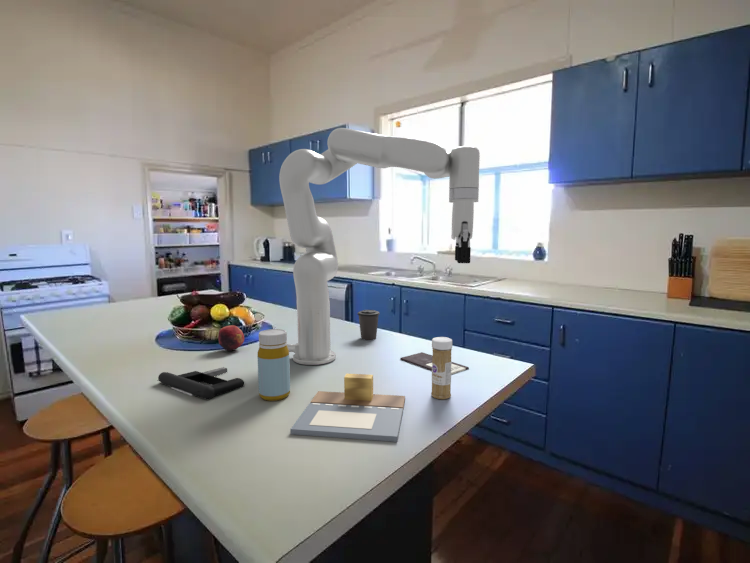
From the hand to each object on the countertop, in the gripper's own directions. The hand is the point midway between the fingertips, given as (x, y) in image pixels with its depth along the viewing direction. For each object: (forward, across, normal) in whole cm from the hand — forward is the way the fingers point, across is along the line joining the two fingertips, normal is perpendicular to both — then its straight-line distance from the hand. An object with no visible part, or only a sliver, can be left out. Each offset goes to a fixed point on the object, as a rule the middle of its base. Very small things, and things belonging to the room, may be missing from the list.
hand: (462, 261), depth 109 cm
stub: (+30, +26, -24) cm, 46 cm away
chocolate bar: (+30, -3, -7) cm, 31 cm away
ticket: (+30, +35, -24) cm, 52 cm away
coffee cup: (+30, -30, -30) cm, 51 cm away
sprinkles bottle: (+30, +20, -6) cm, 36 cm away
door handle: (+30, +18, -64) cm, 73 cm away
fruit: (+30, -10, -71) cm, 78 cm away
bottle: (+30, +24, -44) cm, 58 cm away
